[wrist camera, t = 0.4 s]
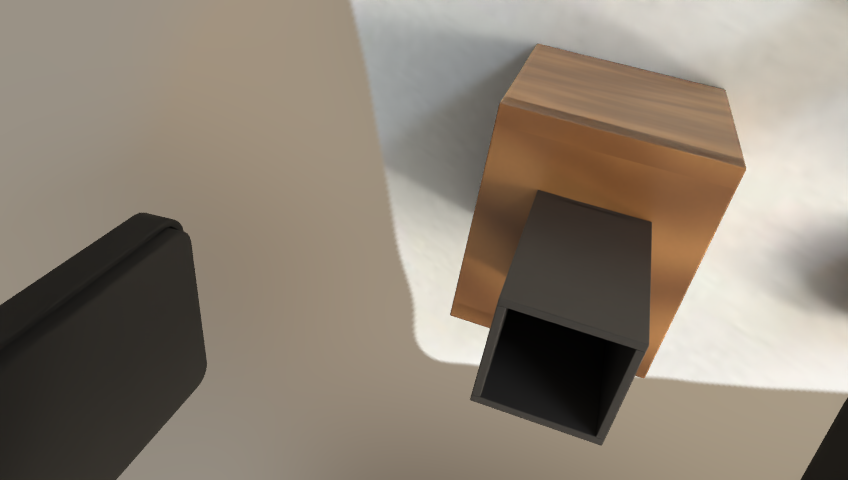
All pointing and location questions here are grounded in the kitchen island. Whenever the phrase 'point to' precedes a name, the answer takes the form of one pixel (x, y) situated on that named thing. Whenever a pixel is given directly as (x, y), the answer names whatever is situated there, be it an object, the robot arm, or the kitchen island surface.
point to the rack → (604, 171)
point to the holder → (570, 318)
